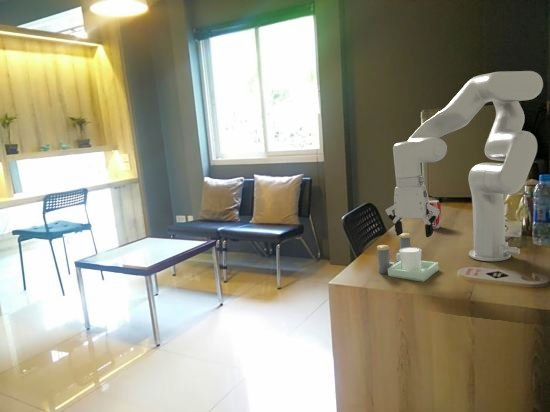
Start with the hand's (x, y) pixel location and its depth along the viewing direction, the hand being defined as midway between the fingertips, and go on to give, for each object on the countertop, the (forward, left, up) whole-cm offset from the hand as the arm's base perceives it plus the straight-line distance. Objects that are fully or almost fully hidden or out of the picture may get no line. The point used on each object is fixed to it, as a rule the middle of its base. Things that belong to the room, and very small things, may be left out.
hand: (414, 235), depth 136 cm
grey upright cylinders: (+9, -4, -12) cm, 16 cm away
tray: (+1, +1, -12) cm, 12 cm away
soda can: (+17, -57, -13) cm, 60 cm away
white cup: (+1, +1, -12) cm, 12 cm away
